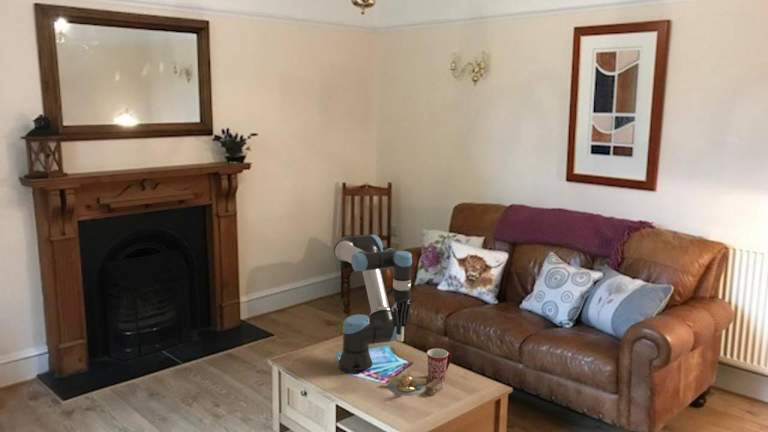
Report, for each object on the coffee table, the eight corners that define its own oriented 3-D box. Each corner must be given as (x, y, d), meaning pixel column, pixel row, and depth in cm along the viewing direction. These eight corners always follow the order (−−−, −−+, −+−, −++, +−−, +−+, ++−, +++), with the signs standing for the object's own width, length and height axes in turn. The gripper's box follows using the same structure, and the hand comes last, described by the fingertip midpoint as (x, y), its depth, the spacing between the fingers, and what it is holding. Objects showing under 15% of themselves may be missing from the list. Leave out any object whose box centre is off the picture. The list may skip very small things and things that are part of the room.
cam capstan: (390, 376, 278) (391, 361, 276) (427, 379, 276) (427, 364, 274) (385, 394, 262) (385, 378, 261) (424, 397, 260) (424, 382, 258)
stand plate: (380, 390, 268) (380, 387, 268) (402, 377, 280) (402, 374, 280) (411, 402, 258) (411, 399, 258) (433, 388, 271) (433, 385, 270)
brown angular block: (425, 396, 264) (425, 385, 263) (436, 389, 270) (436, 378, 269) (434, 400, 261) (434, 388, 260) (444, 392, 267) (445, 381, 266)
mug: (436, 388, 271) (437, 359, 268) (421, 380, 278) (422, 351, 275) (457, 380, 279) (458, 351, 276) (442, 372, 286) (443, 344, 283)
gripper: (399, 294, 260) (397, 347, 265) (418, 286, 270) (415, 338, 275) (385, 289, 264) (383, 342, 269) (403, 282, 274) (401, 333, 279)
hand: (400, 340), depth 272 cm, fingers closed
